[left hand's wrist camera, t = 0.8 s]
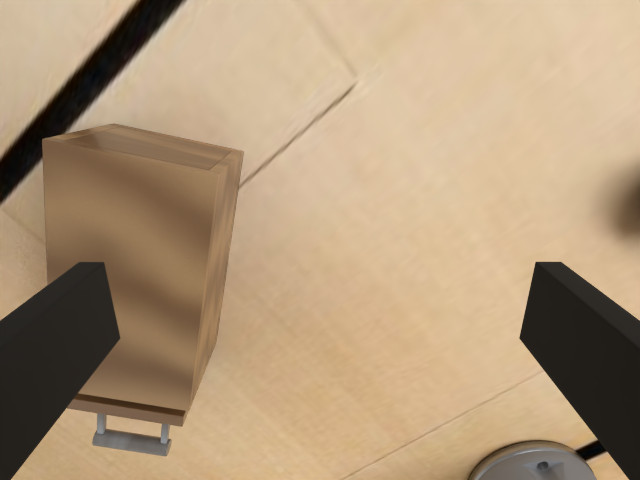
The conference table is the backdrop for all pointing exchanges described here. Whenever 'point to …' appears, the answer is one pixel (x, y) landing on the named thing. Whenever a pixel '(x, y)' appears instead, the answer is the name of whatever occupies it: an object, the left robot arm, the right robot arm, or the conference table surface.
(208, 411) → the conference table surface
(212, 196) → the cabinet
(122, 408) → the drawer
